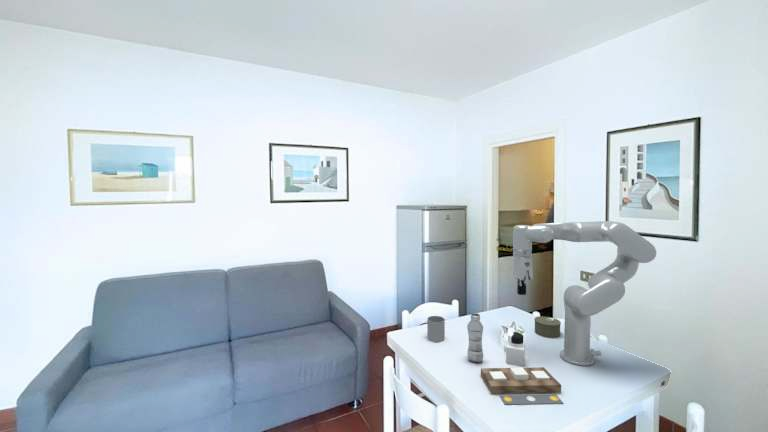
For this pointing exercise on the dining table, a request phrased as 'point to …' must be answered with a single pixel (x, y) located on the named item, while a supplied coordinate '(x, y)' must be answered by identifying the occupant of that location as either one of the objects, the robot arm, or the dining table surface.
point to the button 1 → (497, 376)
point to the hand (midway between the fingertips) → (521, 294)
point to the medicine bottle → (515, 349)
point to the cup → (436, 329)
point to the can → (547, 327)
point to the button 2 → (540, 375)
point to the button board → (520, 382)
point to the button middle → (518, 374)
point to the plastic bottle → (475, 338)
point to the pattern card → (530, 399)
